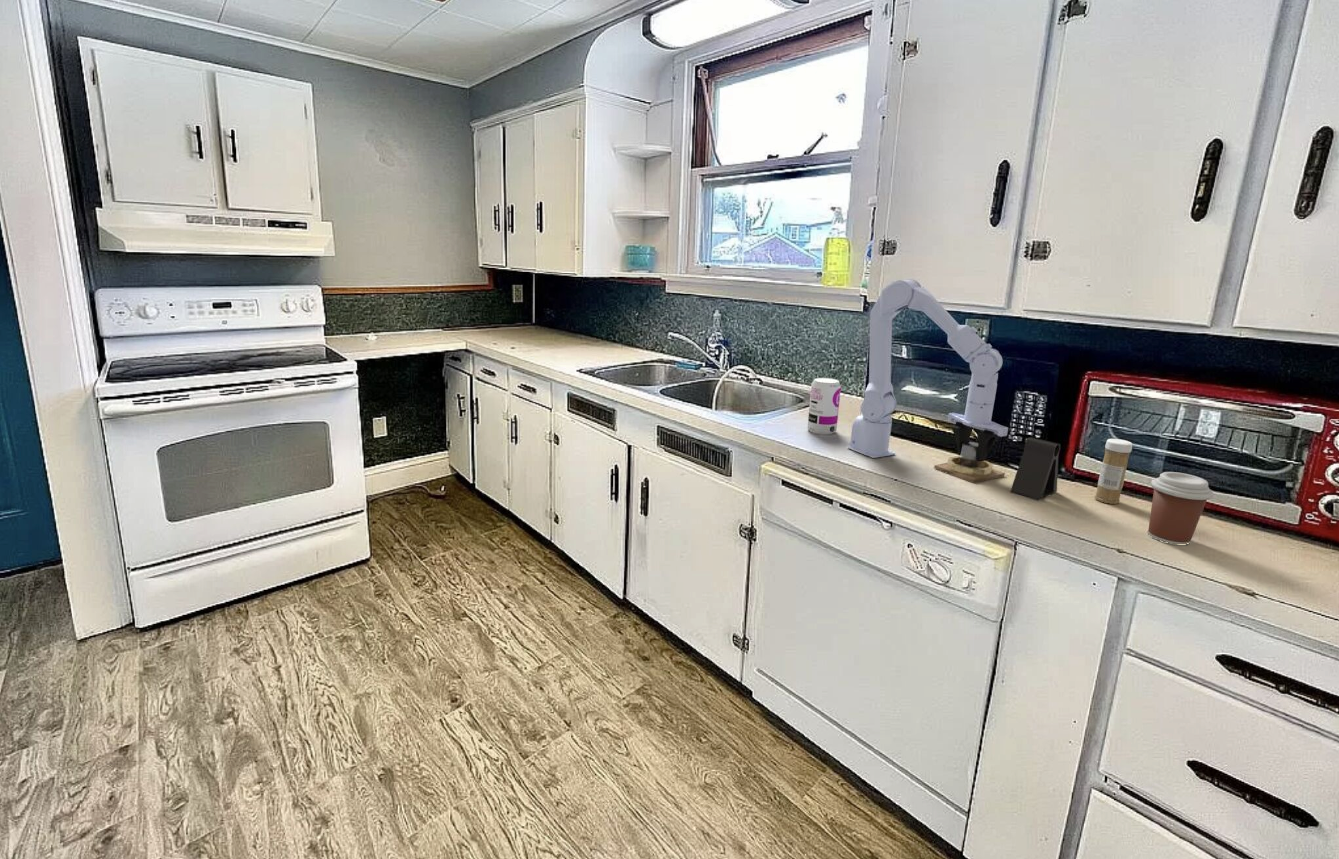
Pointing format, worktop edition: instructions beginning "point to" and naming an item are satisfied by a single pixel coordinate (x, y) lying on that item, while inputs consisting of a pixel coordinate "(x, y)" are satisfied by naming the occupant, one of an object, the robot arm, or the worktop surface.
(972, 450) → the cylinder
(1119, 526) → the worktop surface
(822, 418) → the supplement can
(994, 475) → the ring plate
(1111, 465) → the sprinkles bottle
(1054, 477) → the phone stand
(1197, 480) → the coffee cup
